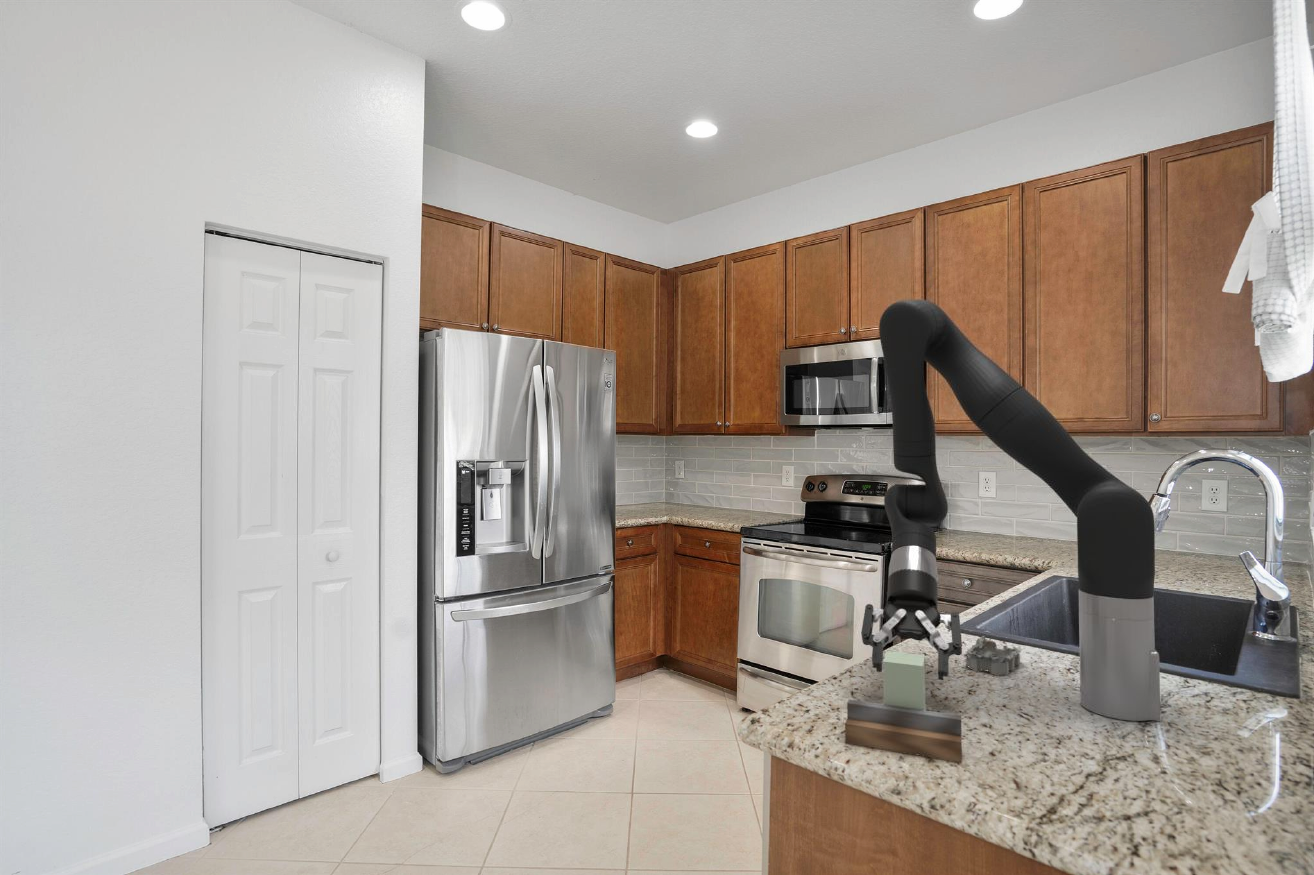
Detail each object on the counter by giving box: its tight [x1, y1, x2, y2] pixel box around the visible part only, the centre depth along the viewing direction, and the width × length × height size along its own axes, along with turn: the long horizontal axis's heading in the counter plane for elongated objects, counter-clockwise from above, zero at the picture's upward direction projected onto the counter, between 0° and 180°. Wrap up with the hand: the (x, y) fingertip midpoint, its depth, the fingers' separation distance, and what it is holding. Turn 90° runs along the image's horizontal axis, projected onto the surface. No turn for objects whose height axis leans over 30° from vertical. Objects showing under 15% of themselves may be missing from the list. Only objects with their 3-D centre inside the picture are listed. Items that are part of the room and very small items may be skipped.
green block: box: [882, 650, 926, 710], centre depth 91 cm, size 5×5×10 cm
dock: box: [844, 698, 963, 763], centre depth 90 cm, size 14×10×4 cm
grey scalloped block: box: [963, 635, 1023, 676], centre depth 119 cm, size 11×8×4 cm
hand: (909, 673), depth 98 cm, fingers open, 8 cm apart
